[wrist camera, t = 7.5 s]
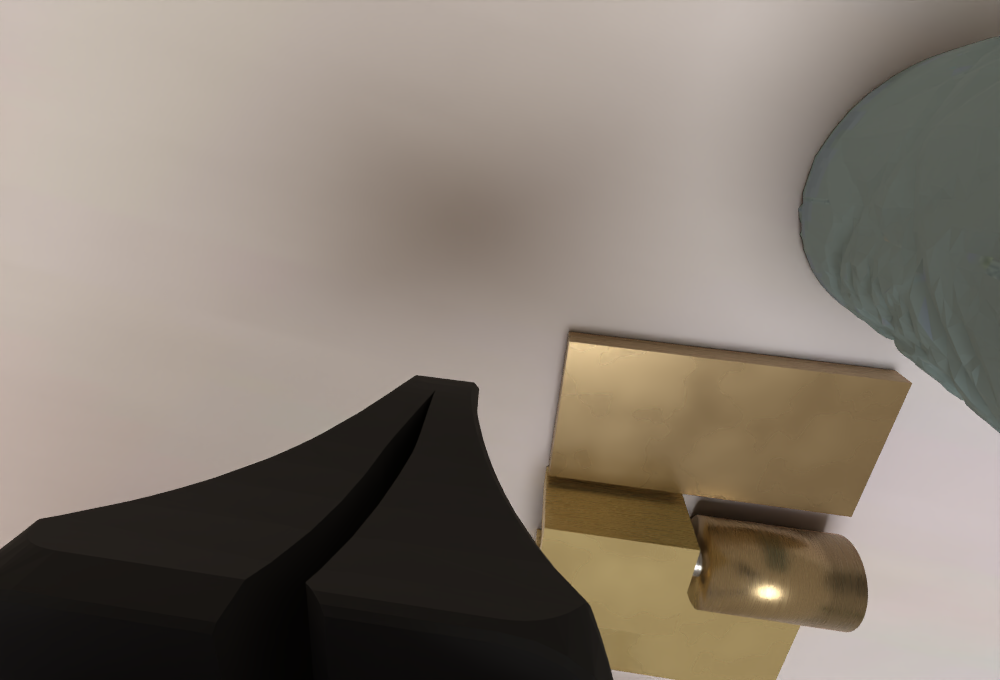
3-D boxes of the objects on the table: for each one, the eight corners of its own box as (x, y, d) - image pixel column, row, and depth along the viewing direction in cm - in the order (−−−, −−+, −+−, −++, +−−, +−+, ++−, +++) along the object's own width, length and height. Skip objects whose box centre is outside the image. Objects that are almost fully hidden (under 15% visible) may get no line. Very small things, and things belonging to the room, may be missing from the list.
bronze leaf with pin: (537, 539, 24) (533, 606, 21) (568, 331, 20) (570, 373, 17) (805, 578, 23) (845, 653, 20) (895, 370, 19) (964, 422, 16)
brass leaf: (521, 636, 27) (515, 712, 23) (546, 466, 23) (544, 528, 19) (761, 673, 26) (792, 757, 23) (834, 505, 22) (885, 577, 18)
